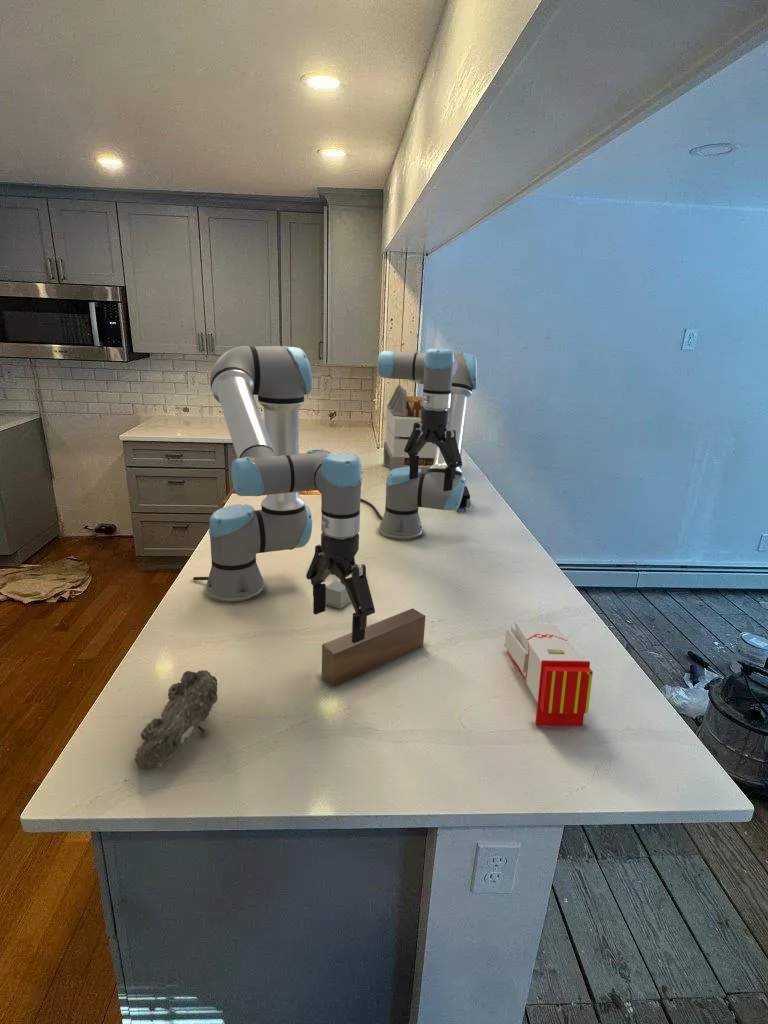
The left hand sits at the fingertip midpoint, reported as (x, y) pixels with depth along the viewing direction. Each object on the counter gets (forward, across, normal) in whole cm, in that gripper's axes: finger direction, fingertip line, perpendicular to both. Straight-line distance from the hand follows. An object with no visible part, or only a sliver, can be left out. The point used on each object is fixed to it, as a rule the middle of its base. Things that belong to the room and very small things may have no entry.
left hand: (338, 625), depth 119 cm
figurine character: (+13, -58, +105) cm, 120 cm away
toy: (+11, +30, +32) cm, 45 cm away
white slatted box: (+14, -104, +126) cm, 164 cm away
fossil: (+12, -3, -33) cm, 35 cm away
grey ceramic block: (+12, -24, +18) cm, 33 cm away
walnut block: (+12, +2, +9) cm, 15 cm away
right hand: (-17, -23, +48) cm, 56 cm away
